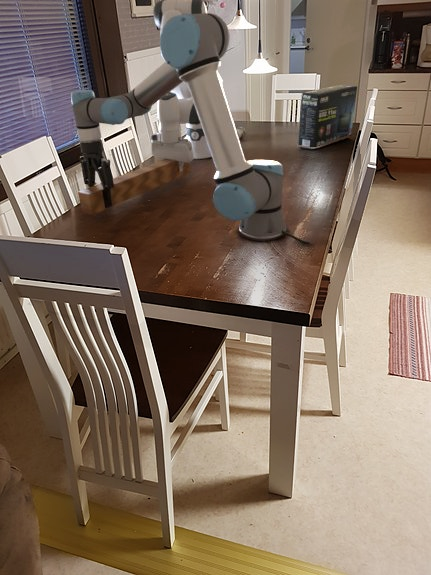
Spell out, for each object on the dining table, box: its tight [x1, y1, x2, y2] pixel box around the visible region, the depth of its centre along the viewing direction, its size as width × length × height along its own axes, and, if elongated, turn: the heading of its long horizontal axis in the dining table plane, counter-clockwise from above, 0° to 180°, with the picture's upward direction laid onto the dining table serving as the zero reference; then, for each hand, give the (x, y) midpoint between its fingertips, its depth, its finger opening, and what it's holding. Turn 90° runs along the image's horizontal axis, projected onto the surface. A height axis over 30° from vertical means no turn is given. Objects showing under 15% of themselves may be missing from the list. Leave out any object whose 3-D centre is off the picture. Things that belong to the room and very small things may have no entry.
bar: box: [77, 159, 191, 216], centre depth 179 cm, size 55×6×7 cm, turn 144°
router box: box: [297, 84, 358, 151], centre depth 238 cm, size 36×11×27 cm, turn 134°
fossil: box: [234, 124, 247, 139], centre depth 261 cm, size 18×11×15 cm
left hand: (173, 170), depth 193 cm, fingers closed on bar, 5 cm apart
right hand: (102, 205), depth 166 cm, fingers closed on bar, 6 cm apart
